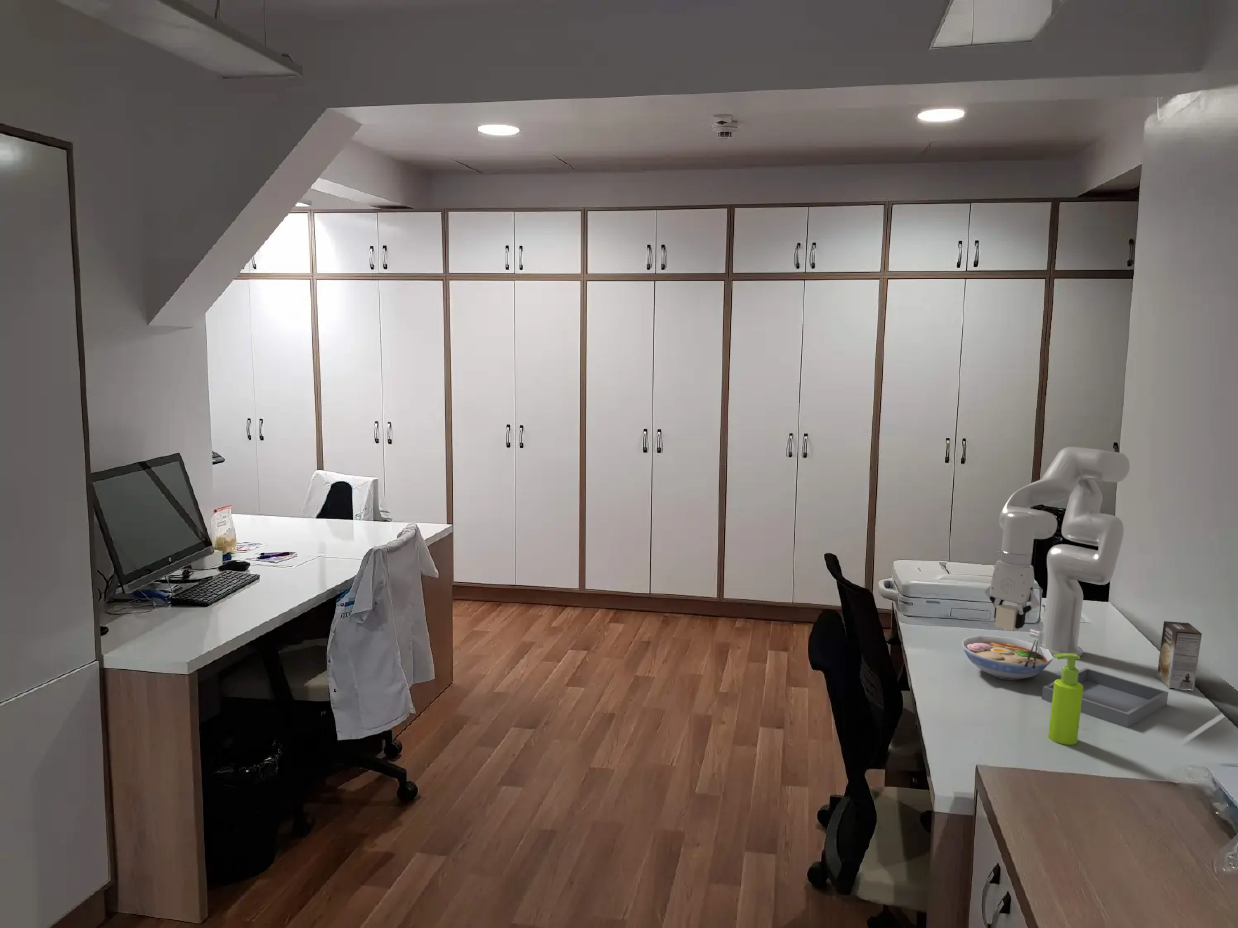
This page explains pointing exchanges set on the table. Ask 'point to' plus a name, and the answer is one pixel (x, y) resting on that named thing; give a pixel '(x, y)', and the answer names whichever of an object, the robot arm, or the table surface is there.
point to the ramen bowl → (1006, 656)
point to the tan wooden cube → (1006, 616)
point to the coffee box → (1179, 655)
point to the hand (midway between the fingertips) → (1008, 623)
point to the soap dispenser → (1066, 703)
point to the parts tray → (1114, 697)
